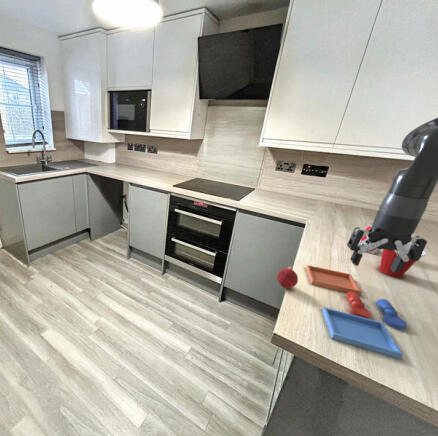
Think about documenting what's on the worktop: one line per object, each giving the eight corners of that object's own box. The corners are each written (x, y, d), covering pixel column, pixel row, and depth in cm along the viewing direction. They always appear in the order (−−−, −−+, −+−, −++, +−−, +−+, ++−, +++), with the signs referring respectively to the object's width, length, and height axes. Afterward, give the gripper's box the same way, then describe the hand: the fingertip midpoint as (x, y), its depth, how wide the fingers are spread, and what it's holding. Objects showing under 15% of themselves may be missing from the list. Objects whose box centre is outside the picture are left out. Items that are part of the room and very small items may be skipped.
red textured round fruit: (297, 294, 75) (304, 273, 72) (278, 292, 76) (284, 271, 72) (290, 283, 80) (296, 263, 77) (272, 281, 81) (278, 261, 78)
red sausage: (341, 295, 75) (344, 288, 74) (357, 299, 73) (361, 291, 72) (352, 318, 66) (356, 310, 65) (371, 323, 64) (375, 315, 63)
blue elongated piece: (370, 302, 72) (374, 295, 71) (388, 307, 71) (392, 299, 69) (386, 327, 63) (391, 319, 62) (407, 333, 62) (412, 324, 61)
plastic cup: (402, 286, 80) (419, 256, 75) (364, 269, 89) (377, 241, 84) (417, 279, 84) (433, 250, 80) (380, 263, 93) (392, 236, 89)
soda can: (381, 256, 98) (394, 231, 93) (361, 253, 100) (372, 228, 96) (373, 249, 104) (384, 224, 100) (354, 246, 106) (364, 221, 102)
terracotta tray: (348, 278, 83) (350, 274, 82) (359, 296, 75) (361, 291, 74) (305, 269, 88) (307, 264, 87) (310, 285, 79) (312, 280, 79)
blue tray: (379, 328, 63) (382, 322, 62) (399, 360, 54) (403, 354, 54) (321, 312, 68) (323, 307, 67) (331, 339, 59) (333, 334, 58)
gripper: (371, 212, 57) (347, 269, 63) (450, 222, 52) (416, 282, 58) (358, 203, 63) (337, 255, 69) (427, 211, 59) (399, 266, 65)
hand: (373, 267), depth 64 cm, fingers open, 8 cm apart
